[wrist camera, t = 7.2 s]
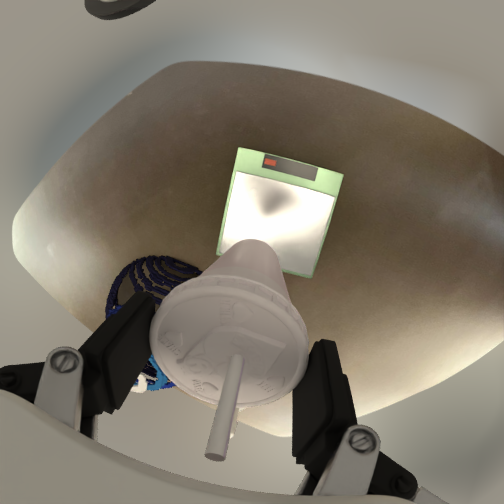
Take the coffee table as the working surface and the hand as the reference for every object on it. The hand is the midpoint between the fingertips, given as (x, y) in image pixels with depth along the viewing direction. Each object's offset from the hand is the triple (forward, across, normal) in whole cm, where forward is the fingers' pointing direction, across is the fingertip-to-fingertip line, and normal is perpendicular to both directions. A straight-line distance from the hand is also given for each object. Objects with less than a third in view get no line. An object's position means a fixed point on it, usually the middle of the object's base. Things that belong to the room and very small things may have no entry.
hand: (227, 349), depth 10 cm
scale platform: (+22, -1, 0) cm, 22 cm away
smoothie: (+9, 0, 0) cm, 9 cm away
